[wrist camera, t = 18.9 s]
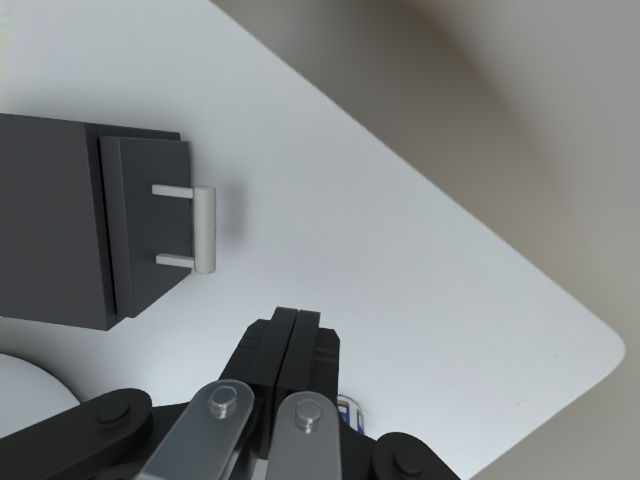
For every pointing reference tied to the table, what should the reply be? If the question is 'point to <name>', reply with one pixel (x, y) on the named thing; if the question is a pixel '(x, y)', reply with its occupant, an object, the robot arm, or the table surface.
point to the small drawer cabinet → (56, 221)
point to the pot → (29, 395)
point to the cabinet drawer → (153, 219)
